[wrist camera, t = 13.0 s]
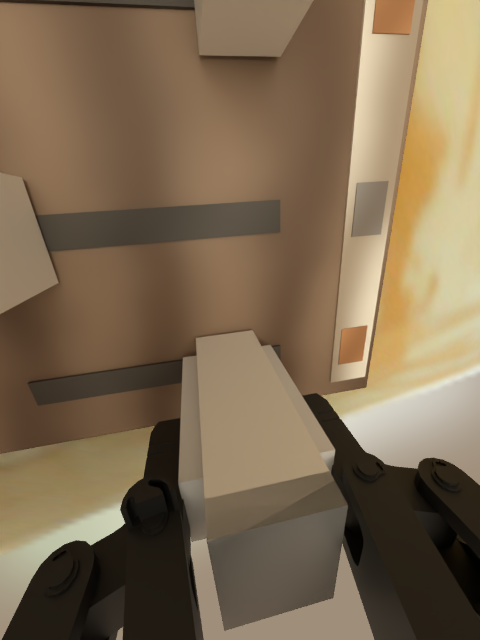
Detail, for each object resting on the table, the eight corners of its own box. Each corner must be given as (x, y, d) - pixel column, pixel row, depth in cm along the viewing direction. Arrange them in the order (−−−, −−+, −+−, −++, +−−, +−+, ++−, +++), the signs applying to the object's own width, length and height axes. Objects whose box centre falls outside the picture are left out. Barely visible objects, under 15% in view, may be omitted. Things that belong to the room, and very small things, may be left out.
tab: (204, 399, 15) (224, 630, 7) (195, 337, 13) (206, 540, 5) (255, 391, 15) (332, 598, 7) (252, 329, 14) (347, 505, 5)
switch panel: (-29, 429, 16) (-68, 468, 13) (-400, -159, 7) (-700, -348, 5) (345, 366, 19) (367, 388, 17) (397, -78, 11) (458, -163, 8)
